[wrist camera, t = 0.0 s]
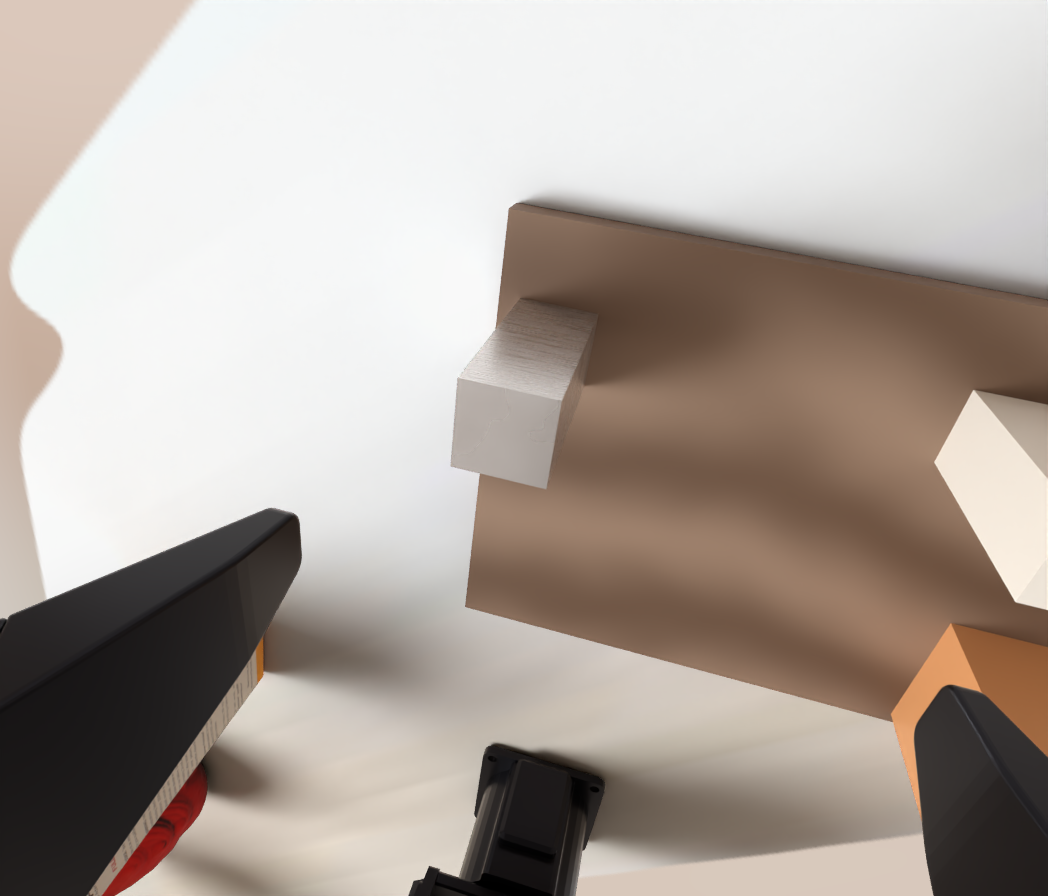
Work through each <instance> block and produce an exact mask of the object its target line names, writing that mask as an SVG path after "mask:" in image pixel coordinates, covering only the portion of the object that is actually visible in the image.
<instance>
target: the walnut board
mask: <svg viewBox="0 0 1048 896" xmlns="http://www.w3.org/2000/svg"><path fill="white" fill-rule="evenodd" d="M520 298H523V299H528V300H533V301H537V302H542V303H547V304H552V305H557V306H562V307H567V308H572V309H577V310H582V311H587V312H592V313H597V314H598V319H597V324H596V329H595V334H594V339H593V344H592V350H591V355H590V360H589V365H588V370H587V375H586V380H585V386H584V389H583V391H582V394H581V397H580V399H579V402H578V405H577V408H576V410H575V413H574V416H573V418H572V421H571V424H570V426H569V429H568V432H567V435H566V437H565V440H564V443H563V445H562V448H561V451H560V454H559V456H558V459H557V462H556V464H555V467H554V470H553V472H552V475H551V478H550V481H549V483H548V486H547V489H543V488H539V487H534V486H530V485H526V484H522V483H518V482H514V481H509V480H505V479H501V478H497V477H493V476H489V475H484V474H480V477H479V486H478V495H477V505H476V514H475V523H474V532H473V541H472V550H471V559H470V568H469V578H468V587H467V596H466V605H465V607H467V608H471V609H475V610H479V611H482V612H486V613H490V614H493V615H497V616H501V617H505V618H508V619H512V620H516V621H519V622H523V623H527V624H531V625H534V626H538V627H542V628H545V629H549V630H553V631H557V632H560V633H564V634H568V635H571V636H575V637H579V638H583V639H586V640H590V641H594V642H597V643H601V644H605V645H609V646H612V647H616V648H620V649H623V650H627V651H631V652H635V653H638V654H642V655H646V656H649V657H653V658H657V659H661V660H664V661H668V662H672V663H675V664H679V665H683V666H687V667H690V668H694V669H698V670H701V671H705V672H709V673H713V674H716V675H720V676H724V677H727V678H731V679H735V680H739V681H742V682H746V683H750V684H753V685H757V686H761V687H765V688H768V689H772V690H776V691H779V692H783V693H787V694H791V695H794V696H798V697H802V698H805V699H809V700H813V701H817V702H820V703H824V704H828V705H831V706H835V707H839V708H843V709H846V710H850V711H854V712H857V713H861V714H865V715H869V716H872V717H876V718H880V719H883V720H887V721H891V722H893V720H892V716H891V713H892V712H893V710H894V709H895V707H896V706H897V704H898V703H899V701H900V699H901V698H902V696H903V695H904V693H905V692H906V690H907V689H908V687H909V686H910V684H911V683H912V681H913V680H914V678H915V677H916V675H917V674H918V672H919V671H920V669H921V668H922V666H923V665H924V663H925V662H926V660H927V659H928V657H929V656H930V654H931V652H932V651H933V649H934V648H935V646H936V645H937V643H938V642H939V640H940V639H941V637H942V636H943V634H944V633H945V631H946V630H947V628H948V627H949V625H950V624H951V623H952V624H956V625H960V626H965V627H969V628H973V629H977V630H981V631H985V632H989V633H993V634H997V635H1001V636H1005V637H1009V638H1013V639H1017V640H1021V641H1025V642H1029V643H1033V644H1037V645H1041V646H1045V647H1048V610H1046V609H1041V608H1037V607H1033V606H1029V605H1025V604H1021V603H1017V602H1015V601H1014V599H1013V597H1012V595H1011V594H1010V592H1009V590H1008V588H1007V587H1006V585H1005V583H1004V582H1003V580H1002V578H1001V576H1000V575H999V573H998V571H997V570H996V568H995V566H994V564H993V563H992V561H991V559H990V557H989V556H988V554H987V552H986V551H985V549H984V547H983V545H982V544H981V542H980V540H979V539H978V537H977V535H976V533H975V532H974V530H973V528H972V527H971V525H970V523H969V521H968V520H967V518H966V516H965V514H964V513H963V511H962V509H961V508H960V506H959V504H958V502H957V501H956V499H955V497H954V496H953V494H952V492H951V490H950V489H949V487H948V485H947V483H946V482H945V480H944V478H943V477H942V475H941V473H940V471H939V470H938V468H937V466H936V465H935V463H934V462H935V460H936V458H937V456H938V454H939V452H940V451H941V449H942V447H943V445H944V443H945V441H946V440H947V438H948V436H949V434H950V432H951V430H952V429H953V427H954V425H955V423H956V421H957V419H958V417H959V416H960V414H961V412H962V410H963V408H964V406H965V405H966V403H967V401H968V399H969V397H970V395H971V393H972V392H973V390H977V391H982V392H987V393H992V394H997V395H1002V396H1007V397H1012V398H1017V399H1022V400H1027V401H1032V402H1037V403H1042V404H1047V405H1048V300H1045V299H1040V298H1034V297H1029V296H1024V295H1018V294H1013V293H1007V292H1002V291H996V290H991V289H985V288H980V287H974V286H969V285H963V284H958V283H952V282H947V281H941V280H936V279H931V278H925V277H920V276H914V275H909V274H903V273H898V272H892V271H887V270H881V269H876V268H870V267H865V266H859V265H854V264H848V263H843V262H838V261H832V260H827V259H821V258H816V257H810V256H805V255H799V254H794V253H788V252H783V251H777V250H772V249H766V248H761V247H755V246H750V245H744V244H739V243H734V242H728V241H723V240H717V239H712V238H706V237H701V236H695V235H690V234H684V233H679V232H673V231H668V230H662V229H657V228H651V227H646V226H641V225H635V224H630V223H624V222H619V221H613V220H608V219H602V218H597V217H591V216H586V215H580V214H575V213H569V212H564V211H558V210H553V209H548V208H542V207H537V206H531V205H526V204H520V203H516V204H514V205H513V206H512V207H510V208H509V212H508V222H507V231H506V240H505V249H504V258H503V267H502V276H501V285H500V295H499V304H498V313H497V322H496V328H497V327H498V326H499V324H500V323H501V322H502V321H503V319H504V318H505V317H506V316H507V314H508V313H509V312H510V310H511V309H512V308H513V307H514V305H515V304H516V303H517V301H518V300H519V299H520Z"/></svg>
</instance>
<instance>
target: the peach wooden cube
mask: <svg viewBox="0 0 1048 896" xmlns="http://www.w3.org/2000/svg"><path fill="white" fill-rule="evenodd" d="M946 685H957V686H961V687H964V688H968V689H972V690H976V691H979V692H981V693H983V694H985V695H986V696H987V697H988V698H989V699H990V700H991V701H992V702H993V703H994V704H995V705H996V706H997V707H998V708H999V709H1000V710H1001V711H1002V712H1003V713H1004V714H1005V715H1006V716H1007V717H1008V718H1009V719H1010V720H1011V721H1012V722H1013V723H1014V724H1015V725H1016V726H1017V727H1018V728H1019V729H1020V730H1021V731H1022V732H1023V733H1024V734H1025V735H1026V736H1027V737H1028V738H1029V739H1030V740H1031V741H1032V742H1033V743H1034V744H1035V745H1036V746H1037V747H1038V748H1039V749H1040V750H1041V751H1042V752H1043V753H1044V754H1045V755H1046V756H1047V757H1048V647H1045V646H1041V645H1037V644H1033V643H1029V642H1025V641H1021V640H1017V639H1013V638H1009V637H1005V636H1001V635H997V634H993V633H989V632H985V631H981V630H977V629H973V628H969V627H965V626H960V625H956V624H952V623H951V624H950V625H949V627H948V628H947V630H946V631H945V633H944V634H943V636H942V637H941V639H940V640H939V642H938V643H937V645H936V646H935V648H934V649H933V651H932V652H931V654H930V656H929V657H928V659H927V660H926V662H925V663H924V665H923V666H922V668H921V669H920V671H919V672H918V674H917V675H916V677H915V678H914V680H913V681H912V683H911V684H910V686H909V687H908V689H907V690H906V692H905V693H904V695H903V696H902V698H901V699H900V701H899V703H898V704H897V706H896V707H895V709H894V710H893V712H892V713H891V716H892V720H893V723H894V727H895V730H896V734H897V737H898V741H899V744H900V748H901V751H902V755H903V758H904V762H905V765H906V768H907V772H908V775H909V779H910V782H911V786H912V789H913V793H914V796H915V800H916V803H917V807H918V810H919V813H920V817H921V807H920V798H919V788H918V778H917V768H916V758H915V749H914V731H915V727H916V724H917V722H918V720H919V719H920V717H921V716H922V714H923V713H924V712H925V710H926V709H927V707H928V706H929V705H930V703H931V702H932V700H933V699H934V697H935V696H936V695H937V693H938V692H939V690H940V689H941V688H942V687H944V686H946ZM921 820H922V817H921Z"/></svg>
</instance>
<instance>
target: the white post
mask: <svg viewBox="0 0 1048 896" xmlns="http://www.w3.org/2000/svg"><path fill="white" fill-rule="evenodd" d="M934 463H935V465H936V466H937V468H938V470H939V471H940V473H941V475H942V477H943V478H944V480H945V482H946V483H947V485H948V487H949V489H950V490H951V492H952V494H953V496H954V497H955V499H956V501H957V502H958V504H959V506H960V508H961V509H962V511H963V513H964V514H965V516H966V518H967V520H968V521H969V523H970V525H971V527H972V528H973V530H974V532H975V533H976V535H977V537H978V539H979V540H980V542H981V544H982V545H983V547H984V549H985V551H986V552H987V554H988V556H989V557H990V559H991V561H992V563H993V564H994V566H995V568H996V570H997V571H998V573H999V575H1000V576H1001V578H1002V580H1003V582H1004V583H1005V585H1006V587H1007V588H1008V590H1009V592H1010V594H1011V595H1012V597H1013V599H1014V601H1015V602H1017V603H1021V604H1025V605H1029V606H1033V607H1037V608H1041V609H1046V610H1048V405H1047V404H1042V403H1037V402H1032V401H1027V400H1022V399H1017V398H1012V397H1007V396H1002V395H997V394H992V393H987V392H982V391H977V390H973V392H972V393H971V395H970V397H969V399H968V401H967V403H966V405H965V406H964V408H963V410H962V412H961V414H960V416H959V417H958V419H957V421H956V423H955V425H954V427H953V429H952V430H951V432H950V434H949V436H948V438H947V440H946V441H945V443H944V445H943V447H942V449H941V451H940V452H939V454H938V456H937V458H936V460H935V462H934Z"/></svg>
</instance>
